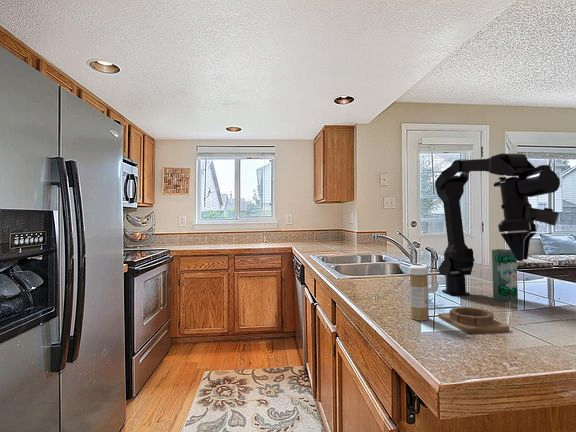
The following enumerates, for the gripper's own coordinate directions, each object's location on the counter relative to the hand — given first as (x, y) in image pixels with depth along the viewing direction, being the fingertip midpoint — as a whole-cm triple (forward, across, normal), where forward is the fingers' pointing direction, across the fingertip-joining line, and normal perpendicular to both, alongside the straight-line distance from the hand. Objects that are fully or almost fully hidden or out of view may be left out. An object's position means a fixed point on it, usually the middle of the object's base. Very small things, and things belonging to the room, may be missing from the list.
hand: (522, 260), depth 86 cm
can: (+13, +18, +8) cm, 23 cm away
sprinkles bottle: (+14, -16, +22) cm, 30 cm away
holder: (+14, -13, +10) cm, 22 cm away
